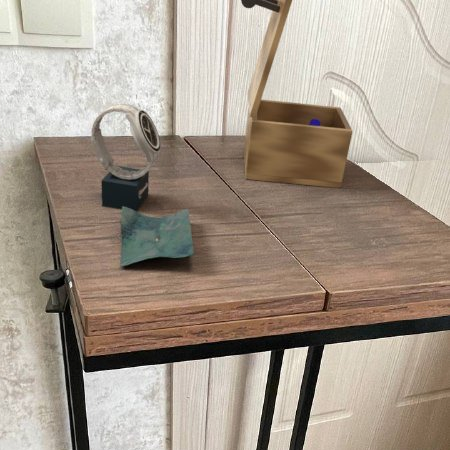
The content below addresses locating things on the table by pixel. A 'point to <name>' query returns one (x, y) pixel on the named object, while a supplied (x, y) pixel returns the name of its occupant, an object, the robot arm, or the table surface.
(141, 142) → the watch
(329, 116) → the case
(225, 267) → the table surface
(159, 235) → the terrain model
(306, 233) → the table surface
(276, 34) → the case lid
